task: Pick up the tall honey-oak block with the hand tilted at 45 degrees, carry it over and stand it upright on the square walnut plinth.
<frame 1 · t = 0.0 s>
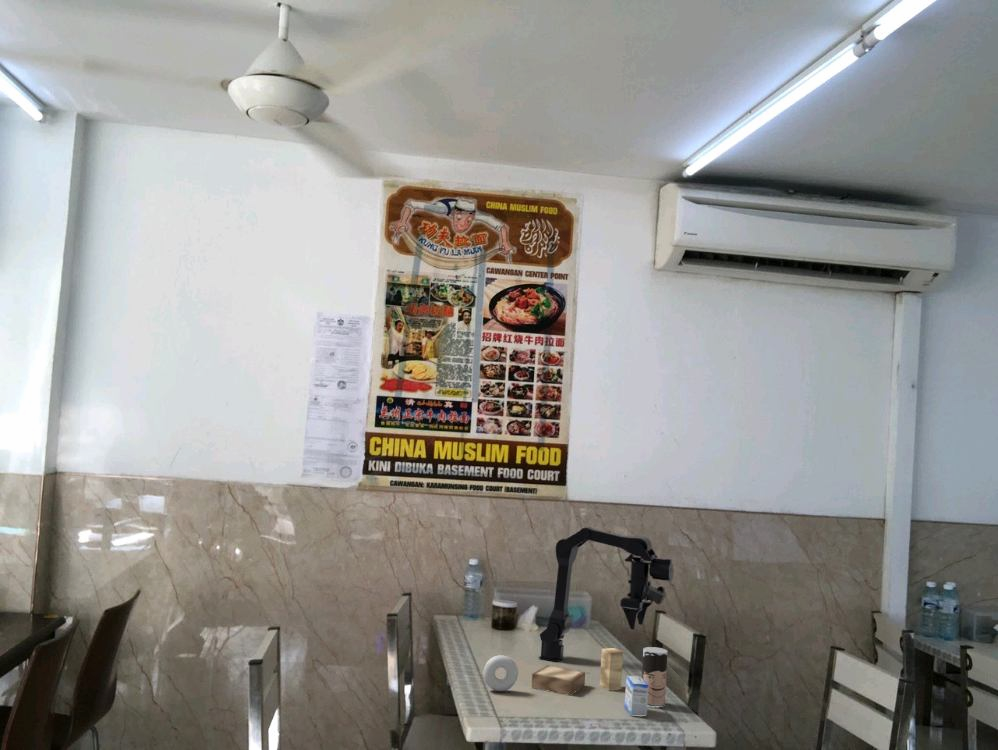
hand: (636, 626, 274), 15 cm above the table, tool pointing down, fingers open, 9 cm apart
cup: (652, 705, 242), on the table
plinth: (558, 686, 254), on the table
donut: (499, 691, 245), on the table
medicine box: (635, 713, 234), on the table
oak block: (610, 688, 256), on the table
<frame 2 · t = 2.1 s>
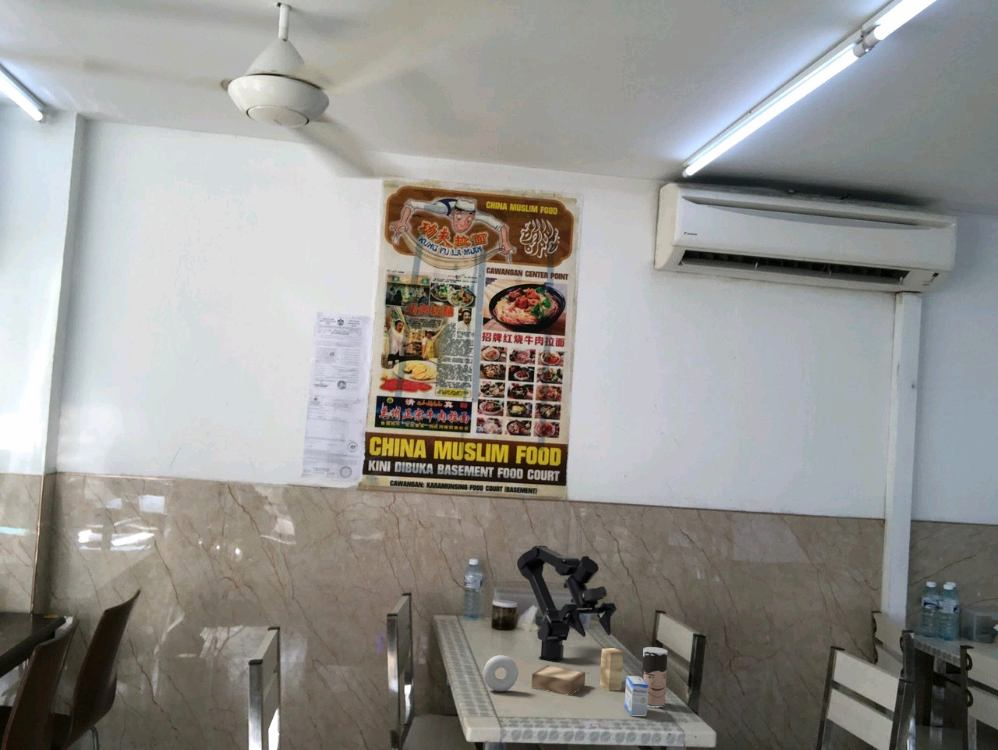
hand: (597, 635, 264), 13 cm above the table, tool tilted 45°, fingers open, 9 cm apart
nothing on the table moved.
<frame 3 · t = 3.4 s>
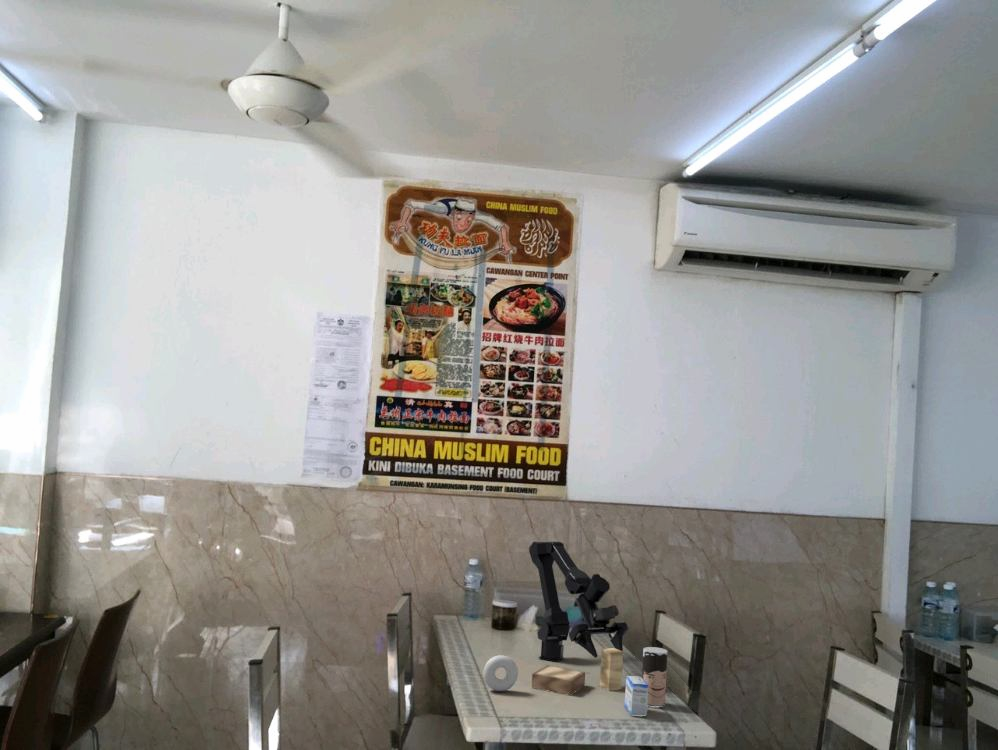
hand: (609, 656, 258), 9 cm above the table, tool tilted 45°, fingers open, 9 cm apart
nothing on the table moved.
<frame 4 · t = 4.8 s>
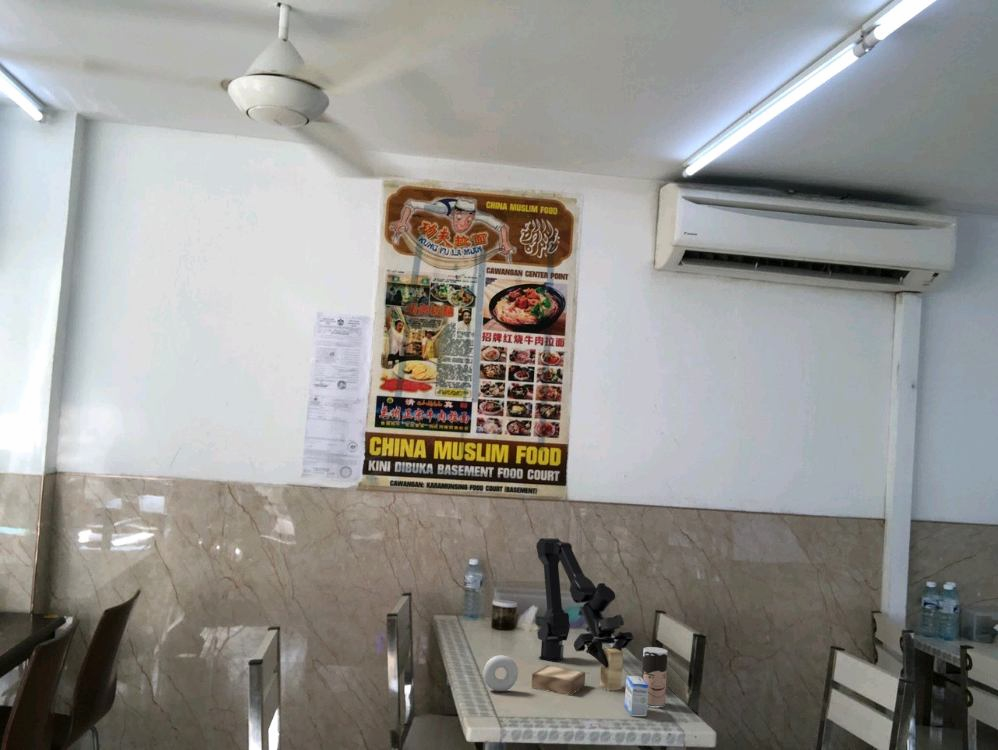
hand: (614, 666, 255), 7 cm above the table, tool tilted 45°, fingers closed on oak block, 4 cm apart
oak block: (610, 687, 256), on the table, touching gripper
everything else where it was.
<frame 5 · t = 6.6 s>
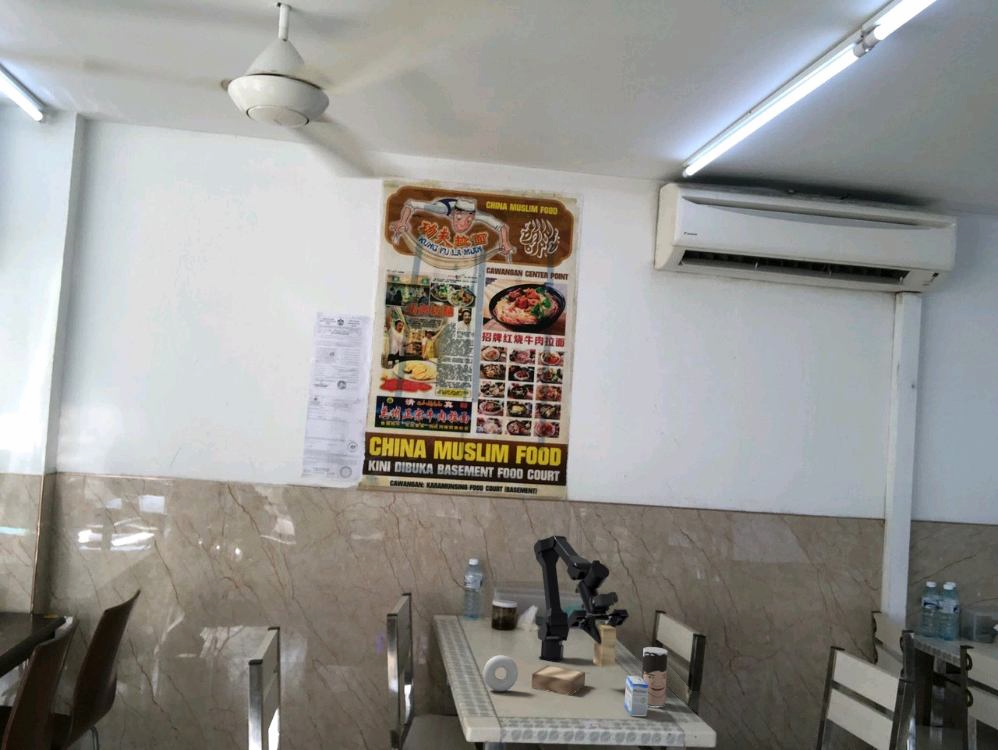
hand: (607, 642, 255), 13 cm above the table, tool tilted 45°, fingers closed on oak block, 4 cm apart
oak block: (603, 664, 256), point 7 cm above the table, touching gripper
everything else where it was.
when the fingers open (11 cm above the table, at t = 8.3 s): oak block stays where it is, resting on plinth.
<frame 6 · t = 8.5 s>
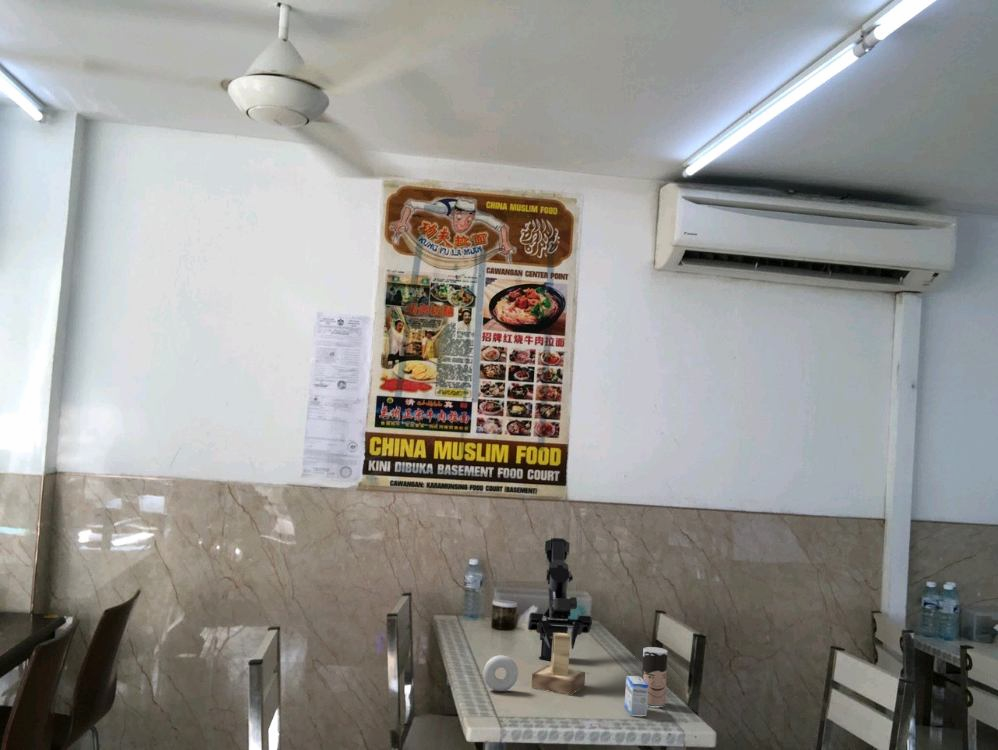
hand: (561, 647, 253), 12 cm above the table, tool tilted 45°, fingers open, 6 cm apart
oak block: (559, 672, 254), point 4 cm above the table, touching plinth
everything else where it was.
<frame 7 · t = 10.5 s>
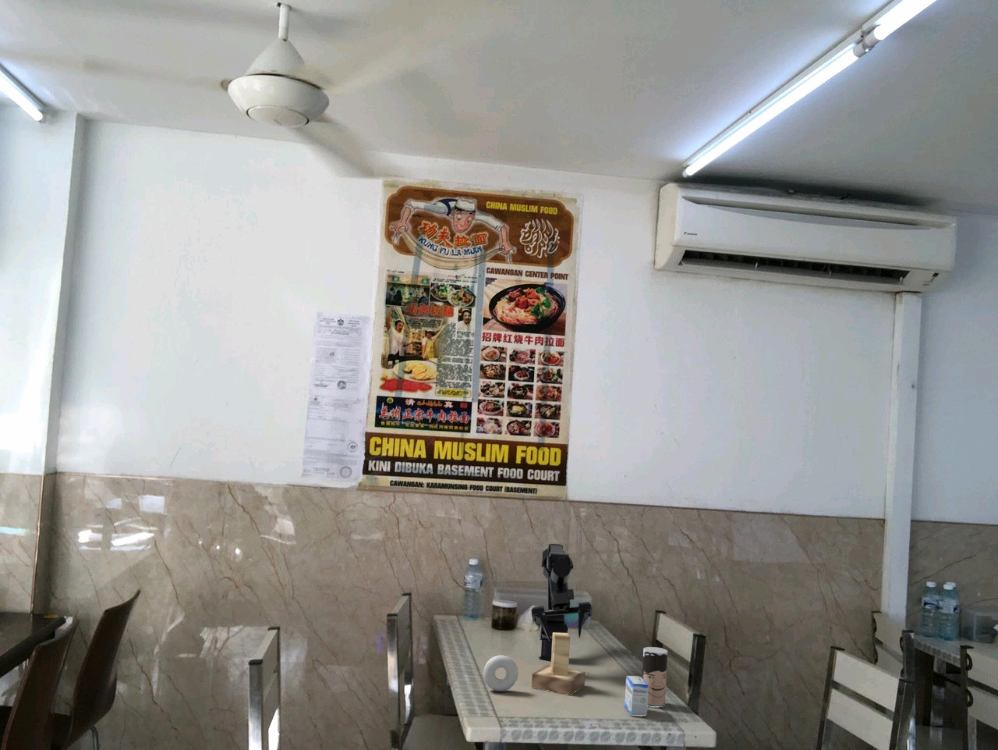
hand: (564, 638, 265), 12 cm above the table, tool tilted 35°, fingers open, 9 cm apart
nothing on the table moved.
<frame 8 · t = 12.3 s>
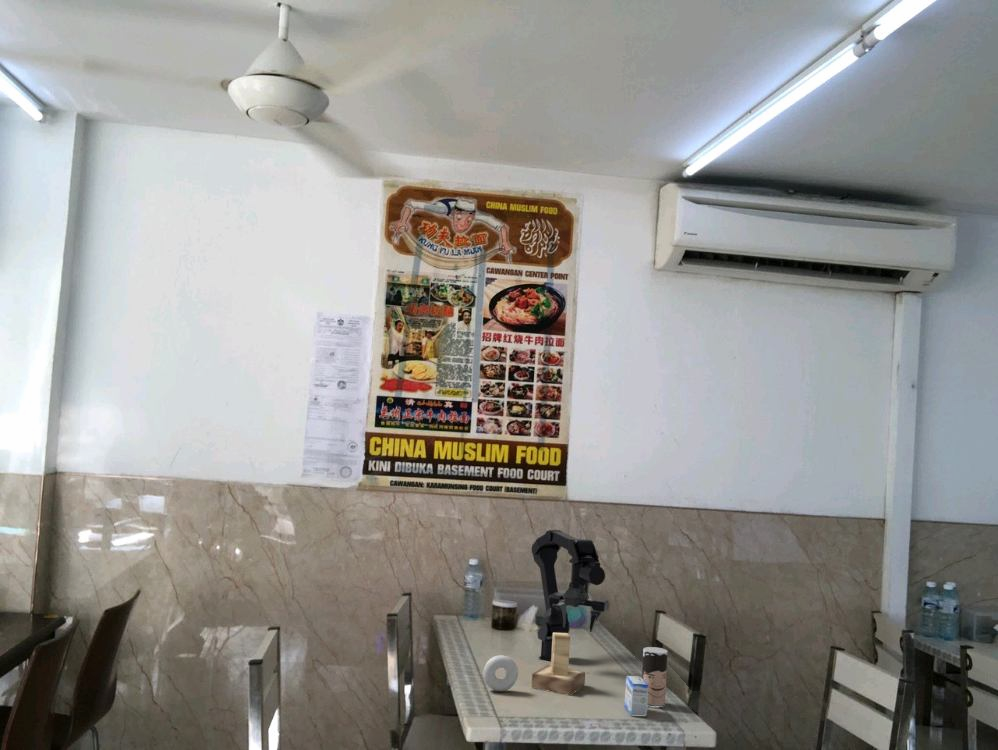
hand: (577, 629, 272), 13 cm above the table, tool pointing down, fingers open, 9 cm apart
nothing on the table moved.
at the end: oak block inside the target area on the plinth (0.0 cm from its centre), point 4.0 cm above the plinth's base; oak block tilted 0°; oak block touching plinth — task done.
